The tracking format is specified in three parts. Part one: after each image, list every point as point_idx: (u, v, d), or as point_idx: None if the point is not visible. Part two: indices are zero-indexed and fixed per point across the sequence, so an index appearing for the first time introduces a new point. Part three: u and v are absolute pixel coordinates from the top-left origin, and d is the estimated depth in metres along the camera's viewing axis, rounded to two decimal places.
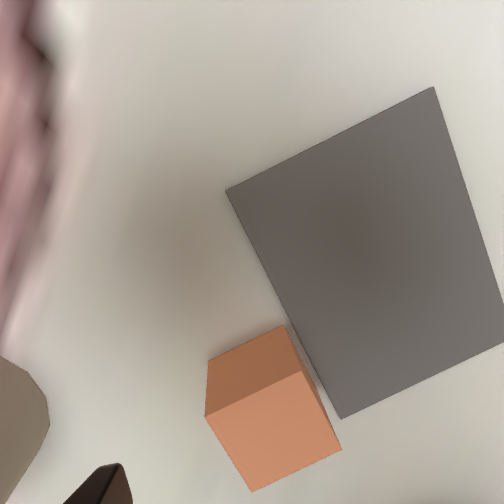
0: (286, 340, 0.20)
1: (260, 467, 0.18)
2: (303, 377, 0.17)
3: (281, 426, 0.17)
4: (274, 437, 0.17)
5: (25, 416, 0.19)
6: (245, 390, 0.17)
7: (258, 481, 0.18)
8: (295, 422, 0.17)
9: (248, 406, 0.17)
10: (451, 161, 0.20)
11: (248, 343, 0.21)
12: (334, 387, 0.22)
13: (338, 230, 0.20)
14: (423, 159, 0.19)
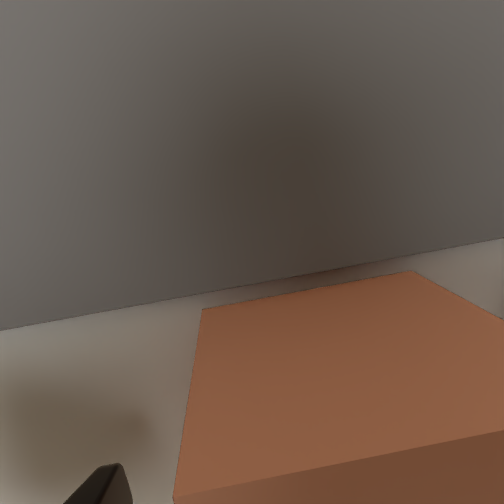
0: None
1: None
2: (215, 489, 0.04)
3: None
4: None
5: None
6: None
7: None
8: None
9: None
10: None
11: None
12: (423, 228, 0.08)
13: None
14: None
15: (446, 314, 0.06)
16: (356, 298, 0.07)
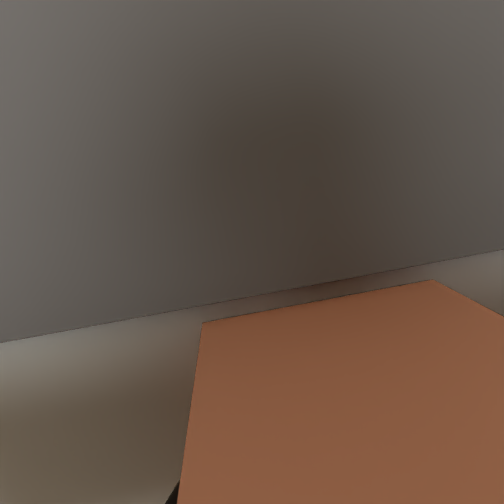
0: None
1: None
2: None
3: None
4: None
5: None
6: None
7: None
8: None
9: None
10: None
11: None
12: (446, 233, 0.07)
13: None
14: None
15: (486, 335, 0.05)
16: (376, 313, 0.07)
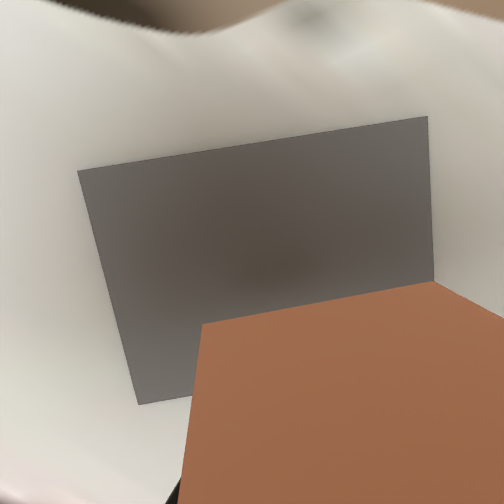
0: None
1: None
2: None
3: None
4: None
5: None
6: None
7: None
8: None
9: None
10: (168, 164, 0.16)
11: None
12: None
13: (211, 307, 0.18)
14: (157, 197, 0.16)
15: (486, 338, 0.05)
16: (376, 315, 0.07)
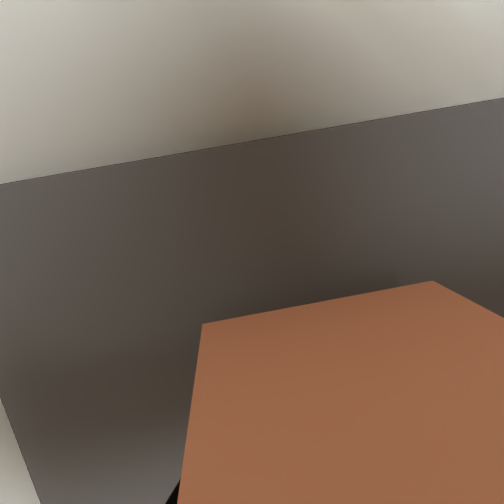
0: None
1: None
2: None
3: None
4: None
5: None
6: None
7: None
8: None
9: None
10: (108, 179, 0.08)
11: None
12: None
13: None
14: (91, 245, 0.08)
15: (486, 337, 0.05)
16: (376, 314, 0.07)
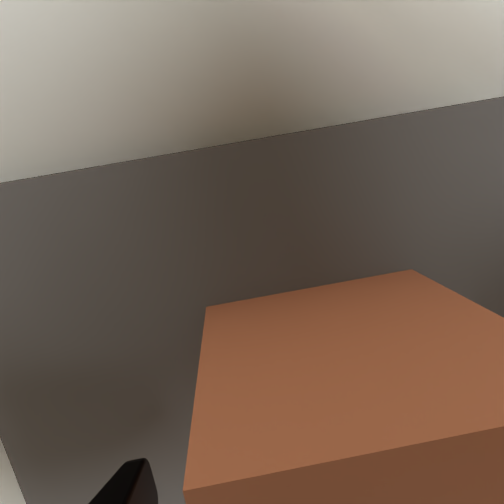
0: None
1: None
2: (224, 483, 0.04)
3: None
4: None
5: None
6: None
7: None
8: None
9: None
10: (103, 180, 0.08)
11: None
12: None
13: None
14: (85, 250, 0.08)
15: (449, 313, 0.06)
16: (359, 297, 0.08)
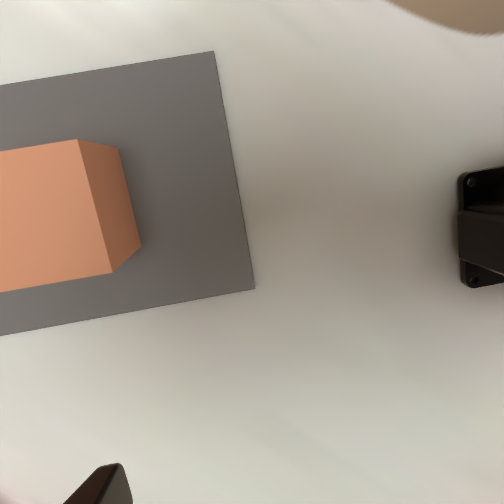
0: None
1: (76, 251, 0.14)
2: None
3: (17, 209, 0.13)
4: (33, 222, 0.13)
5: None
6: None
7: (97, 259, 0.14)
8: (15, 190, 0.13)
9: None
10: None
11: None
12: (211, 286, 0.20)
13: None
14: None
15: None
16: None
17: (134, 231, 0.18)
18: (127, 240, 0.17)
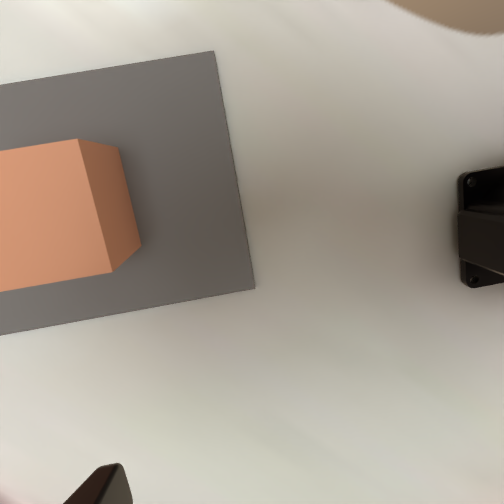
0: None
1: (76, 250, 0.14)
2: None
3: (17, 209, 0.13)
4: (33, 222, 0.13)
5: None
6: None
7: (97, 259, 0.14)
8: (15, 189, 0.13)
9: None
10: None
11: None
12: (211, 286, 0.20)
13: None
14: None
15: None
16: None
17: (134, 231, 0.18)
18: (127, 240, 0.17)
